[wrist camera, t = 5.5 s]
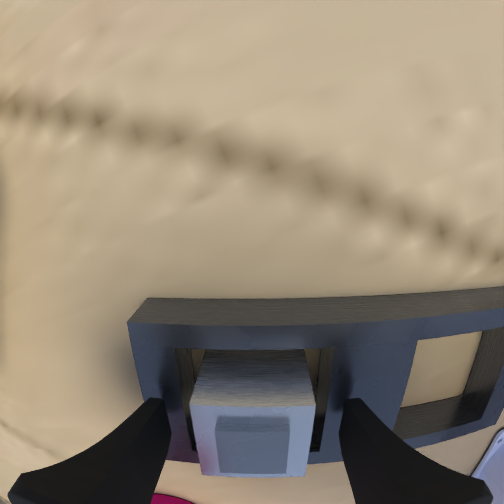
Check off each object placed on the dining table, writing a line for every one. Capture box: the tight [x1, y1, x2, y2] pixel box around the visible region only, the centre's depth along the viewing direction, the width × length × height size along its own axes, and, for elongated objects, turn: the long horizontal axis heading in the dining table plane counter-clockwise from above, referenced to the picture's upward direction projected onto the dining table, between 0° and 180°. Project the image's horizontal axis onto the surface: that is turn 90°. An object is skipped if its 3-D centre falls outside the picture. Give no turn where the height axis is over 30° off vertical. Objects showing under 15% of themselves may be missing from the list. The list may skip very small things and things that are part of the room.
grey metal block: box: [189, 349, 316, 477], centre depth 12 cm, size 4×4×5 cm
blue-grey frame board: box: [127, 286, 504, 464], centre depth 13 cm, size 8×19×2 cm, turn 91°
